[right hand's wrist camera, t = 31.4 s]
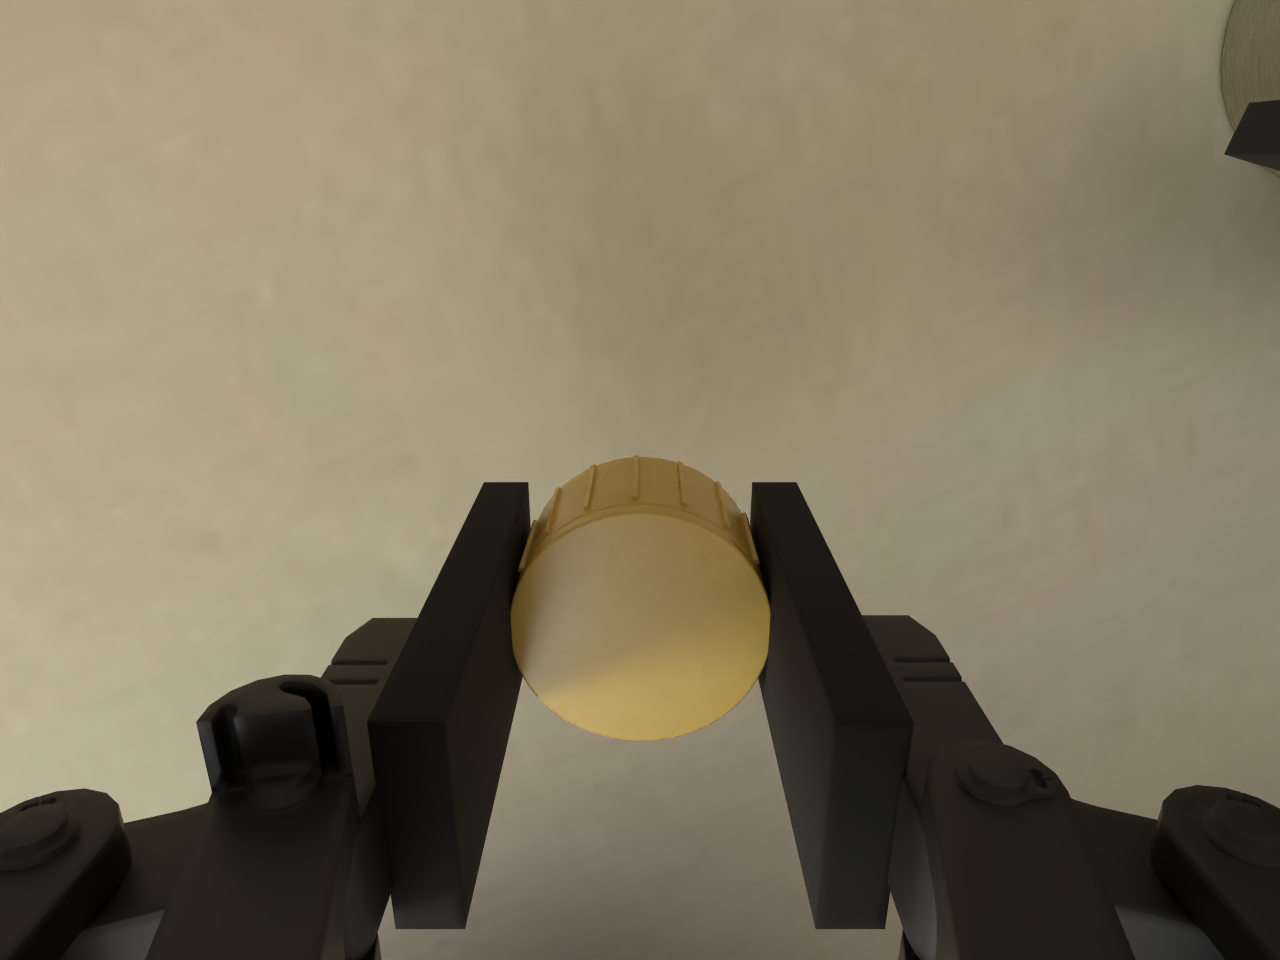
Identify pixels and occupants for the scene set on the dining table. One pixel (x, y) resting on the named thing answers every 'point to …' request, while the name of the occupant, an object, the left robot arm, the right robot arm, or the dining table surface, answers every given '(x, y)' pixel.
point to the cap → (640, 602)
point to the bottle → (1251, 57)
